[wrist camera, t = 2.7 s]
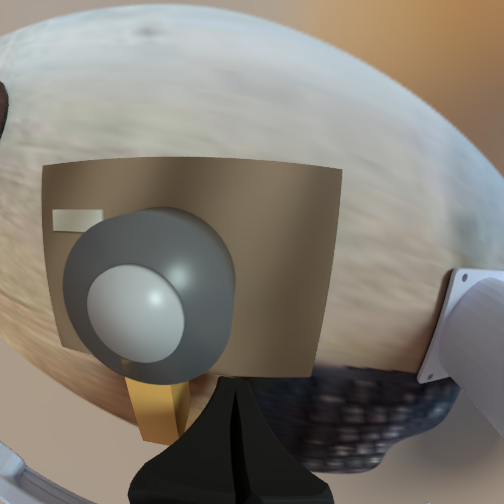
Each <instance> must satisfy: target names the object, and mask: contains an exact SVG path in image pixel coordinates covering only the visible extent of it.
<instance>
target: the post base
mask: <svg viewBox="0 0 504 504" xmlns="http://www.w3.org/2000/svg"><path fill="white" fill-rule="evenodd" d="M341 183H342V169H336V168H329V167H321V166H314V165H305V164H297V163H287V162H277V161H265V160H252V159H236V158H213V157H139V158H117V159H102V160H89V161H79V162H69V163H61V164H53V165H45V166H43V171H42V228H43V243H44V254H45V263H46V271H47V278H48V285H49V291H50V296H51V302H52V307H53V311H54V316H55V320H56V325H57V329H58V333H59V337H60V340H61V344H62V347H66V348H69V349H73V350H76V351H80V352H84V353H88V354H92V353H91V352H90V351H89V350H88V349H87V347H86V346H85V345H84V344H83V342H82V341H81V340H80V338H79V336H78V335H77V333H76V332H75V330H74V328H73V326H72V324H71V321H70V319H69V316H68V313H67V311H66V307H65V302H64V296H63V274H64V268H65V264H66V260H67V258H68V255H69V253H70V251H71V249H72V247H73V246H74V244H75V242H76V241H77V240H78V239H79V238H80V236H81V235H82V234H83V233H84V232H86V231H87V230H88V229H89V228H90V227H92V226H94V225H95V224H97V223H99V222H101V221H103V220H106V219H109V218H112V217H116V216H119V215H123V214H127V213H131V212H135V211H138V210H142V209H147V208H152V207H174V208H178V209H182V210H185V211H187V212H190V213H192V214H194V215H196V216H198V217H199V218H201V219H202V220H204V221H205V222H206V223H208V224H209V225H210V226H211V227H212V228H213V229H214V230H215V231H216V232H217V233H218V234H219V236H220V237H221V238H222V240H223V241H224V243H225V244H226V246H227V248H228V250H229V252H230V255H231V257H232V260H233V264H234V268H235V275H236V287H235V296H234V306H233V316H232V325H231V333H230V336H229V340H228V343H227V345H226V348H225V350H224V352H223V354H222V355H221V356H220V358H219V359H218V361H217V362H216V363H215V364H214V365H213V366H212V367H211V368H210V369H209V370H207V371H206V372H205V374H216V375H229V376H247V377H311V373H312V369H313V365H314V360H315V356H316V351H317V347H318V342H319V337H320V332H321V327H322V322H323V317H324V312H325V306H326V301H327V295H328V289H329V283H330V276H331V270H332V263H333V256H334V249H335V241H336V233H337V224H338V215H339V205H340V195H341ZM92 355H93V354H92Z"/></svg>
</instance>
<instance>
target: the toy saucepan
mask: <svg viewBox="0 0 504 504" xmlns="http://www.w3.org/2000/svg"><path fill="white" fill-rule="evenodd" d="M235 287H236V275H235V268H234V264H233V260H232V257H231V255H230V252H229V250H228V248H227V246H226V244H225V243H224V241H223V240H222V238H221V237H220V236H219V234H218V233H217V232H216V231H215V230H214V229H213V228H212V227H211V226H210V225H209V224H208V223H206V222H205V221H204V220H202V219H201V218H199V217H198V216H196V215H194V214H192V213H190V212H187V211H185V210H182V209H178V208H174V207H152V208H147V209H142V210H138V211H135V212H131V213H127V214H123V215H119V216H116V217H112V218H109V219H106V220H103V221H101V222H99V223H97V224H95V225H94V226H92V227H90V228H89V229H88V230H87V231H86V232H84V233H83V234H82V235H81V236H80V238H79V239H78V240H77V241H76V242H75V244H74V246H73V247H72V249H71V251H70V253H69V255H68V258H67V260H66V264H65V268H64V274H63V296H64V302H65V307H66V311H67V313H68V316H69V319H70V321H71V324H72V326H73V328H74V330H75V332H76V333H77V335H78V336H79V338H80V340H81V341H82V342H83V344H84V345H85V346H86V347H87V349H88V350H89V351H90V352H91V353H92V354H93V355H94V356H95V357H96V358H97V359H98V360H99V361H101V362H102V363H103V364H104V365H106V366H107V367H109V368H110V369H112V370H113V371H115V372H117V373H118V374H120V375H122V376H125V380H126V384H127V388H128V392H129V396H130V399H131V403H132V406H133V410H134V413H135V417H136V420H137V423H138V426H139V429H140V432H141V435H142V438H143V440H144V441H148V442H153V443H158V444H164V445H169V446H170V445H172V444H173V443H174V442H175V441H176V440H178V439H179V438H180V437H181V436H182V435H183V434H184V430H185V426H186V422H187V417H188V413H189V408H190V404H191V399H190V388H189V381H190V380H192V379H195V378H197V377H198V376H200V375H202V374H204V373H205V372H206V371H207V370H209V369H210V368H211V367H212V366H213V365H214V364H215V363H216V362H217V361H218V359H219V358H220V356H221V355H222V354H223V352H224V350H225V348H226V345H227V343H228V340H229V336H230V333H231V325H232V316H233V306H234V296H235Z"/></svg>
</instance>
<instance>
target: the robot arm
mask: <svg viewBox="0 0 504 504" xmlns="http://www.w3.org/2000/svg"><path fill="white" fill-rule="evenodd" d="M463 275H464V276H463ZM462 277H463V278H462ZM446 377H451V378H452V379H453V380H454V381H455V382H456V383H457V384H458V385H459V387H460V388H461V389H462V390H463V391H464V392H465V393H466V394H467V396H469V398H470V399H471V400H472V401H473V402H474V403H475V405H476V406H477V407H478V408H479V409H480V410H481V412H482V413H483V414H484V415H485V416H486V418H487V419H488V420H489V421H490V422H491V423H492V425H493V426H494V427H495V428H496V430H497V431H498V432H499V433H500V435H501V436H502V437H503V438H504V270H493V269H475V268H456V269H454V270H453V272H452V274H451V278H450V282H449V286H448V290H447V294H446V297H445V301H444V304H443V308H442V311H441V314H440V318H439V321H438V324H437V327H436V330H435V333H434V336H433V338H432V341H431V344H430V347H429V349H428V352H427V354H426V357H425V359H424V362H423V364H422V367H421V369H420V371H419V374H418V376H417V380H418V382H419V383H426V382H430V381H434V380H438V379H442V378H446ZM128 498H129V502H130V504H334V499H333V495H332V493H331V490H330V488H329V486H328V484H327V483H325V482H324V481H323V480H321V479H319V478H318V477H317V476H315V475H314V474H312V473H311V472H310V471H309V470H307V469H306V468H305V467H304V466H302V465H301V464H300V463H299V462H298V461H297V460H296V459H295V458H294V457H293V456H292V455H291V454H290V453H289V452H288V451H287V449H286V448H285V447H284V446H283V445H282V443H281V442H280V441H279V440H278V438H277V437H276V436H275V434H274V433H273V431H272V430H271V428H270V426H269V425H268V423H267V421H266V420H265V418H264V416H263V414H262V412H261V410H260V408H259V406H258V404H257V402H256V400H255V397H254V395H253V392H252V390H251V387H250V384H249V382H248V381H244V380H239V379H234V378H229V377H224V376H220V377H218V381H217V385H216V389H215V391H214V393H213V395H212V397H211V398H210V400H209V402H208V404H207V405H206V407H205V408H204V410H203V411H202V413H201V414H200V415H199V417H198V418H197V419H196V420H195V422H194V423H193V424H192V425H191V426H190V427H189V429H188V430H187V431H186V432H185V433H184V434H183V435H182V436H181V437H180V438H179V439H178V440H176V441H175V442H174V443H173V444H172V445H170V446H169V447H168V448H167V449H165V450H164V451H163V452H161V453H160V454H159V455H157V456H155V457H154V458H152V459H151V460H149V461H148V462H146V463H145V464H144V465H143V466H142V468H141V469H140V470H139V471H138V472H137V474H136V475H135V477H134V478H133V480H132V482H131V484H130V487H129V491H128ZM0 499H1V500H2V501H3V502H4V503H5V504H96V503H94V502H92V501H89V500H87V499H85V498H83V497H80V496H79V495H77V494H75V493H73V492H71V491H69V490H67V489H65V488H63V487H61V486H59V485H57V484H56V483H54V482H52V481H50V480H49V479H47V478H45V477H44V476H42V475H40V474H39V473H37V472H36V471H34V470H33V469H31V468H30V467H28V466H27V465H26V464H25V462H24V460H23V459H22V458H21V457H20V456H19V455H18V454H17V453H15V452H14V451H12V450H11V449H10V448H9V447H7V446H6V445H5V444H4V443H2V442H1V441H0ZM425 504H430V503H429V502H427V503H425Z"/></svg>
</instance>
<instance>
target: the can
mask: <svg viewBox="0 0 504 504" xmlns="http://www.w3.org/2000/svg"><path fill="white" fill-rule="evenodd" d="M8 106H9V104H8V94H7V91H6V89H5V86H4V84H3V83H2V82H0V137H1V135H2V132H3V130H4V126H5V122H6V119H7V113H8Z"/></svg>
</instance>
